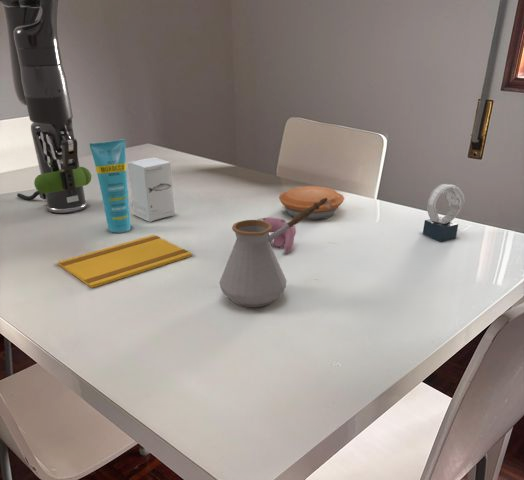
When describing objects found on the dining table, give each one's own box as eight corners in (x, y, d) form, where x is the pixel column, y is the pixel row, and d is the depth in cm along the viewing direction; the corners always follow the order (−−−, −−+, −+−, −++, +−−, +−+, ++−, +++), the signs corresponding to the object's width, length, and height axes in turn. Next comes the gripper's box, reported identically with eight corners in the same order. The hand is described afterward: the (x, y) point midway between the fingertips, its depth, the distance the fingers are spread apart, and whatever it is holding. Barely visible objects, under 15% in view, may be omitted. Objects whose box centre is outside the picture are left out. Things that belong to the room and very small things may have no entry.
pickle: (33, 192, 108) (29, 174, 106) (87, 181, 114) (84, 163, 112) (41, 197, 106) (37, 178, 104) (95, 185, 112) (92, 167, 110)
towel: (57, 264, 111) (57, 261, 110) (153, 237, 123) (153, 234, 123) (92, 288, 102) (91, 284, 101) (191, 256, 114) (191, 252, 113)
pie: (321, 227, 127) (322, 206, 124) (266, 214, 135) (266, 194, 132) (355, 209, 137) (356, 189, 135) (302, 198, 145) (302, 179, 143)
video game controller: (294, 255, 117) (299, 221, 117) (289, 253, 113) (294, 218, 112) (250, 249, 120) (254, 216, 119) (243, 247, 116) (247, 213, 115)
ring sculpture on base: (462, 236, 121) (472, 185, 116) (434, 243, 118) (442, 191, 112) (444, 228, 126) (452, 179, 120) (416, 235, 122) (423, 184, 117)
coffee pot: (240, 319, 91) (237, 230, 83) (208, 292, 100) (203, 209, 92) (344, 288, 100) (351, 205, 93) (307, 266, 109) (310, 189, 101)
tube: (108, 235, 124) (93, 145, 114) (100, 229, 127) (85, 141, 117) (139, 229, 127) (128, 140, 117) (131, 223, 131) (119, 136, 121)
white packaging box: (149, 222, 131) (143, 167, 124) (133, 215, 136) (126, 161, 129) (176, 215, 135) (171, 161, 128) (159, 208, 140) (153, 156, 133)
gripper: (84, 94, 98) (99, 192, 107) (50, 86, 107) (67, 177, 116) (42, 99, 94) (62, 201, 103) (10, 90, 103) (32, 184, 112)
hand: (65, 188), depth 110 cm, fingers closed on pickle, 3 cm apart
